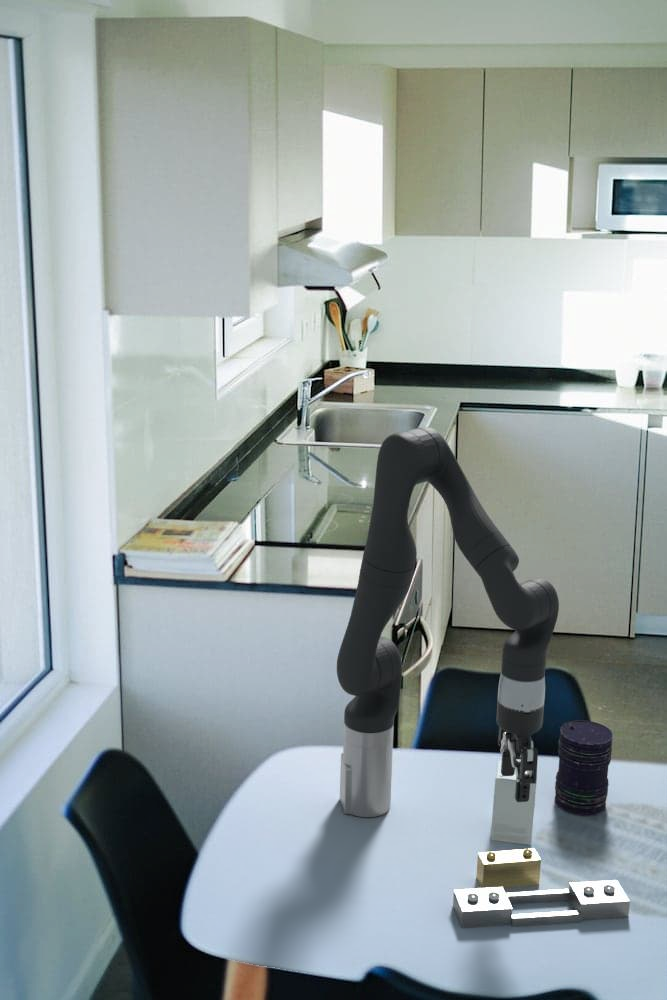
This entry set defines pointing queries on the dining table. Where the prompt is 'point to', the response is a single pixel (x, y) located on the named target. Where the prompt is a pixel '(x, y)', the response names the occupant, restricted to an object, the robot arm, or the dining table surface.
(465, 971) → the dining table surface
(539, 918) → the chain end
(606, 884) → the chain end
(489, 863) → the link
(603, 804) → the dark purple cylinder
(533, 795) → the supplement box
